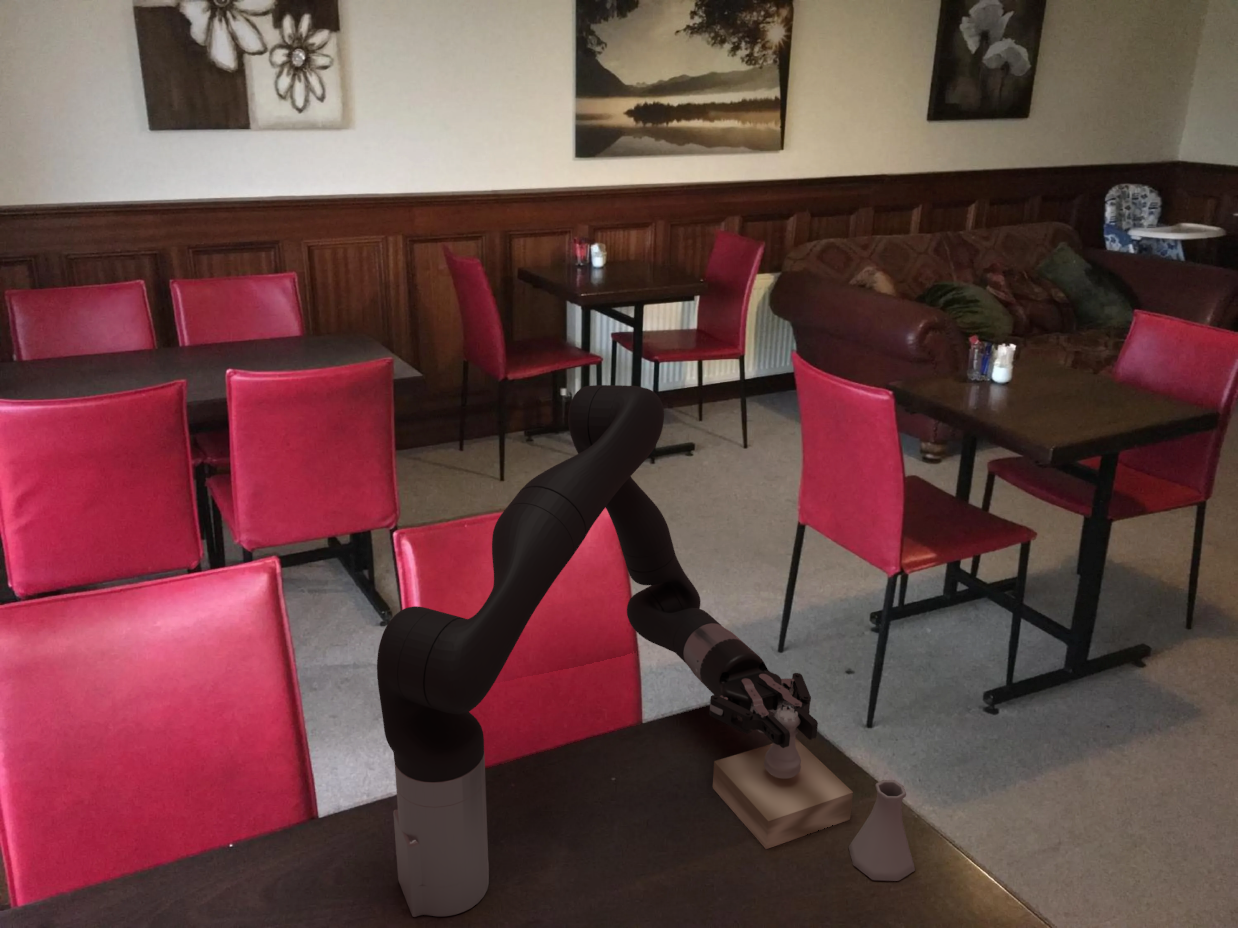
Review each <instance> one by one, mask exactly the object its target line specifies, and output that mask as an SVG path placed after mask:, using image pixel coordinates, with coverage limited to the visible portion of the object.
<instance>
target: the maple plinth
mask: <svg viewBox="0 0 1238 928" xmlns="http://www.w3.org/2000/svg"><path fill="white" fill-rule="evenodd" d="M795 743H796V749H797V751H798V754H799V756H800V758H801V763H800V766H801V769H800V772H799V773H798V774H797V775H795V776H794V777H792V778H789V779H781V778H777V777H774V776H772V775H771V774H770V773H769V772H768V771H767V770H766V769H765V766H764V761H765V756H766V753H767V751H768V750H769V749H770V747H771V746H772V745H773V743H770V744H767V745H763V746H760V747H756V748H753V749H750V750H747V751H743V752H740V753H737V754H734V755H730V756H727V757H724V758H721V759H717V760H714V761H713V776H712V777H713V778H712V789H713V790H714V791H715V792H716V794H717V795H719V798H721V800H722V801H723V802H724V803H725V805H727V806H728V807H729V808H730V810H731V811H732V812H733V813H734V815H736V817H737V818H738V819H739V820H740V821H741V822H742V824H744V826H745V827H746V828H747V829H748V830H749V831H750V833H751V834H752V835H753V836H754V837H755V838H756V839H757V841H758V842H759V843H760V844H761V845H762V847H764V849H765V850H768V849H771V848H773V847H777V846H780V845H782V844H785V843H788V842H790V841H794V840H796V839H799V838H802V837H806V836H807V834H808V835H810V833H811V834H814V833H815V832H818V830H819V831H822V830H824V828H825V829H827V827H828V828H830V827H832V825H833V826H836V825H838V824H842V823H844V822H845V823H846V822H848V821H849V820H850V819H851V813H852V812H851V811H852V806H853V796H854V792H853V790H851V789H850V788H849V787H848V786H847V785H846V784H845V783H844V782H843V781H842V780H841V779H840V778H838V777H837V775H835V773H834V772H832V771H831V770H830V769H829V767H827V766H826V765H825V764H824V763H823V762H821V760H819V758H818V757H816V756H815V754H813V753H812V752H811V751H810V750H809V749H808V748H807V747H806V746H805V745H803V743H802V742H800V740H798V738H797V737H795Z"/></svg>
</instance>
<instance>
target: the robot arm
mask: <svg viewBox="0 0 1238 928" xmlns="http://www.w3.org/2000/svg"><path fill="white" fill-rule="evenodd" d="M663 405H664V404H663V403H662V400H661V398H660V397H659V396H658V394H657V393H656V392H654V390H651V389H649V388H647V387H642V386H638V385H623V384H622V385H621V384H620V385H618V384H616V385H612V384H610V385H609V384H608V385H607V384H597V385H596V384H595V385H585V386H583V387H582V388H580V389H578V390H577V391H576V392H575V394H574V395H573V397H572V399H571V401H570V404H569V408H568V414H567V415H568V416H567V419H568V421H567V422H568V429H569V434H570V438H571V440H572V443H573V445H574V448H575V451H576V453H577V454H576V455H573V456H571V457H570V458H567V459H566V460H564V461H561V462H559V463H557V464H556V465H554V466H552V467H550V468H548V469H546V470H544V471H542V472H541V473H540V474H538V475H536V476H535V477H533V478H532V479H531V480H529V481H528V482H527V483H526V484H525V485H524V486H523V487H522V488H521V489H520V490H519V491H518V492H517V494H516V495H515V497H514V498H513V499H512V501H510V503H509V504H508V506H507V507H506V508H505V509H504V510H503V512H502V513H501V514H500V516H499V517H498V518H497V520H496V522H495V525H494V529H493V531H492V537H491V539H492V540H491V557H492V569H493V588H492V589H491V592H490V593H489V595H488V598H487V599H486V601H485V602H484V603H483V605H482V606H481V608H480V609H479V610H478V611H477V612H476V613H475V614H474V615H473V616H471V617H469V618H466V617H461V616H457V615H453V614H450V613H447V612H443V611H440V610H436V609H432V608H429V607H424V606H416V605H415V606H414V605H413V606H408V607H405V608H403V609H401V610H400V611H398V612H397V613H396V614H395V615H394V616H393V617H392V618H390V620H389V622H388V623H387V625H386V627H385V628H384V630H383V633H382V635H381V639H380V642H379V646H378V650H377V658H376V659H377V660H376V673H377V675H376V677H377V688H378V694H379V695H378V696H379V701H380V706H381V707H380V708H381V716H382V722H383V729H384V730H383V731H384V736H385V740H386V742H387V744H388V746H389V747H390V749H391V751H392V752H393V760H394V771H395V772H394V773H395V774H394V775H395V789H396V802H397V803H396V804H397V809H394V810H393V813H392V815H393V826H394V827H393V828H394V838H395V839H394V840H395V842H394V843H395V853H396V867H397V869H396V870H397V877H398V878H397V879H398V883H399V886H400V889H401V891H402V893H403V896H404V899H405V901H406V904H407V906H408V909H409V911H410V914H411V917H414V918H417V917H419V916H423V915H424V916H431V917H432V916H433V917H450V916H455V915H458V914H462V913H464V912H466V911H468V910H470V909H472V908H473V907H474V906H475V905H478V904H479V903H480V902H481V900H482V899H483V898H484V897H485V895H486V894H487V892H488V889H489V884H490V882H489V881H490V879H489V874H490V873H489V872H490V865H489V850H488V849H489V848H488V847H489V845H488V822H487V821H488V819H487V818H488V817H487V813H488V812H487V786H486V759H485V758H486V757H485V755H486V754H485V738H484V731H483V727H482V725H481V722H480V721H479V720H478V719H477V718H476V717H475V716H474V715H473V713H471V712H470V711H472V710H473V709H475V708H476V707H478V705H479V704H480V703H481V702H482V701H483V700H484V698H485V697H486V696H487V695H488V693H489V692H490V690H491V689H492V687H493V686H494V684H495V682H496V680H497V679H498V677H499V675H500V673H501V671H502V670H503V668H504V666H505V665H506V662H507V661H508V659H509V658H510V656H511V653H512V651H513V650H514V648H515V646H516V644H517V642H518V641H519V639H520V637H521V635H522V633H523V631H524V630H525V628H526V626H527V624H528V623H529V621H530V619H531V617H532V616H533V614H534V613H535V611H536V610H537V607H538V606H539V604H540V603H541V602H542V600H543V598H544V597H545V595H546V594H547V592H549V590H550V588H551V587H552V586H553V583H554V582H555V580H556V579H557V578H558V576H559V575H560V574H561V572H562V571H563V570H564V568H565V567H566V566H567V564H568V563H569V561H570V560H572V558H573V556H574V554H575V553H576V552H577V550H578V549H579V547H580V546H581V545H582V543H583V542H584V540H585V538H586V537H587V535H588V533H589V532H590V530H591V528H592V526H594V524H595V522H596V521H597V520H598V518H599V517H600V516H601V514H602V513H603V512H604V511H605V509H606V511H607V513H608V516H609V517H610V520H611V522H612V525H613V527H614V530H615V533H616V535H617V539H618V543H619V546H620V549H621V552H622V556H623V558H624V562H625V564H626V569H627V571H628V572H627V573H628V574H629V576H630V578H631V579H632V581H633V582H635V583H636V584H638V585H642V586H647V587H645V588H644V589H642V590H640V591H638V592H636V593H635V594H634V595H632V596H631V597H630V598H629V600H628V602H627V606H626V616H627V619H628V621H629V624H630V625H631V627H632V628H633V629H634V630H635V633H637V634H639V636H641V637H642V638H643V639H645V640H646V641H648V642H650V643H652V644H654V645H657V646H659V647H661V648H664V649H666V650H668V651H671V652H673V653H675V654H676V655H677V656H678V657H679V658H680V659H681V660H682V661H683V662H684V663H685V664H686V665H687V666H688V667H689V669H690V671H691V673H693V675H694V676H695V677H696V678H697V679H698V680H699V681H700V682H701V683H702V684H703V685H704V687H706V689H708V690H709V691H710V693H712V695H711V696H710V702H709V716H710V717H712V718H714V719H716V720H717V721H720V722H721V723H723V724H726V725H727V726H730V727H732V728H733V729H735V730H738V731H739V732H741V733H743V734H745V735H746V734H750V733H752V731H757V732H759V733H761V734H764V735H765V736H766V737H767V738H768V739H769V740H770V741H771V742H772V744H773V743H775V744H777V745H780V746H781V747H782V748H785V747H788V746H789V742H790V732H789V731H788V730H787V729H786V728H785V727H784V726H783V725H782V724H781V723H780V722H779V721H778V720H777V719H776V718H775V717H774V715H775V714H776V713H777V710H778V709H779V708H780V709H781V710H783V707H787V710H789V711H790V708H793V709H794V713H795V712H796V711H797V712H798V717H799V718H800V720H801V722H800V724H799V725H798V726H797V727H796V729H797V730H798V731H800V732H801V733H802V734H803V736H805V737H806V738H807V739H808V740H809V741H811V740H814V739H817V734H818V725H819V723H818V721H817V719H816V718H815V717H814V716H812V714H810V708H811V700H812V697H811V694H810V692H809V689H808V686H807V685H806V681H805V679H804V677H803V675H802V674H801V672H794V673H792V678H781V677H780V675H779V674H777V673H774V672H772V671H770V670H769V669H768V667H767V664H766V663H765V662H764V660H763V659H762V658H761V657H760V656H759V654H757V653H756V652H755V651H753V650H752V649H751V648H750V647H749V646H748V645H747V644H746V643H745V642H743V641H742V639H740V637H738V636H737V635H736V634H735V633H734V632H733V631H731V630H729V629H727V628H726V627H724V626H723V625H722V624H721V623H719V621H717V620H716V619H715V618H714V617H713V616H712V615H710V614H709V613H708V612H707V611H706V610H703V609H701V597H700V594H699V591H698V589H697V588H696V586H695V585H694V584H693V583H692V581H691V579H689V577H688V576H687V574H686V572H685V571H684V569H683V567H682V566H681V564H680V562H679V560H678V558H677V555H676V551H675V547H674V544H673V540H672V536H671V532H670V529H669V526H668V522H667V521H666V519H665V516H664V515H663V512H662V511H661V510H660V508H659V507H658V506H657V504H656V503H655V502H654V501H653V500H652V499H651V498H650V497H649V495H648V494H647V493H646V492H645V491H644V490H643V489H642V488H641V487H640V486H639V484H638V483H637V482H636V481H635V480H634V479H633V478H632V475H634V473H635V472H636V471H637V470H638V469H639V468H640V466H641V465H643V464H644V462H645V461H646V460H647V458H648V457H649V456H650V455H651V454H652V452H653V451H654V449H655V448H656V445H657V444H658V442H659V440H660V437H661V434H662V431H663V428H664V420H665V411H664V410H665V409H664V406H663ZM769 711H770V712H771V713H773V714H774V715H770V714H769V713H770V712H769ZM738 717H739V718H741V719H742V720H740V719H738Z"/></svg>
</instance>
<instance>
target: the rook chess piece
mask: <svg viewBox="0 0 1238 928" xmlns="http://www.w3.org/2000/svg"><path fill="white" fill-rule="evenodd" d="M789 709H790V711H789V710H787V707H783V710H781V709H780V708H779V709H778V710H777V713H776V714H774V715H773V716H774V717H775V718H776V719H777V720H778V721H779V722H780V723H781V724H782V725H783V726H784V727H785V728H786V729H787V730H788V731H789V732H790V742H789V746H788V747H785V748H782V747H781V746H780V745H777V744H775V743H773V742H772V744H773V745H772V746H771V747H770V749H769V750H768V751H767V753H766V756H765V761H764V766H765V769H766V770H767V771H768V772H769V773H770V774H771V775H772V776H774V777H777V778H781V779H789V778H792V777H794V776H795V775H797V774H798V773H799V772H800V769H801V766H800V763H801V758H800V756H799V754H798V751H797V749H796V743H795V738H796V735H798V732H799V730H798V729H797V728H796V727H797V726H798V725H799V724H800V722H801V720H800V718H799V717H798V712H797V711H796V712H795V713H794V709H793V708H791V707H789Z"/></svg>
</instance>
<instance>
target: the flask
mask: <svg viewBox="0 0 1238 928" xmlns="http://www.w3.org/2000/svg"><path fill="white" fill-rule="evenodd" d="M875 790H876V799H875V802H874V805H873V807H872V810H871V812H870V813H869V815H868V817H867V819H866V820H865V822H864V823H863V825H862V826H861V828H860V829H859V831H858V833H857V834H856V835H855V836H854V838H853V839H852V841H851V842H850V844H849V845H848V851H849V854H850V858H851V863H852V865H853V866H854V867H855V868H856V869H858V870H859V871H860V872H862V873H863V874H864V875H866V876H867V877H868V878H869V879H871V880H872V881H888V882H889V881H890V882H891V881H892V882H893V881H894V882H896V881H897V882H898V881H901V880H902V879H904V878H906V877H907V876H908V875H910V874H911V873H913V872H915V871H916V868H915V864H914V859H913V857H912V854H911V850H910V846H909V842H908V839H907V835H906V830H905V827H904V822H903V812H902V811H903V809H902V806H903V799H904V798H906V796H907V792H906V790H905V787H904V785H902V784H901V783H900V782H898V781H896V780H895V779H883V780H881V781H878V782H876V783H875Z"/></svg>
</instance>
